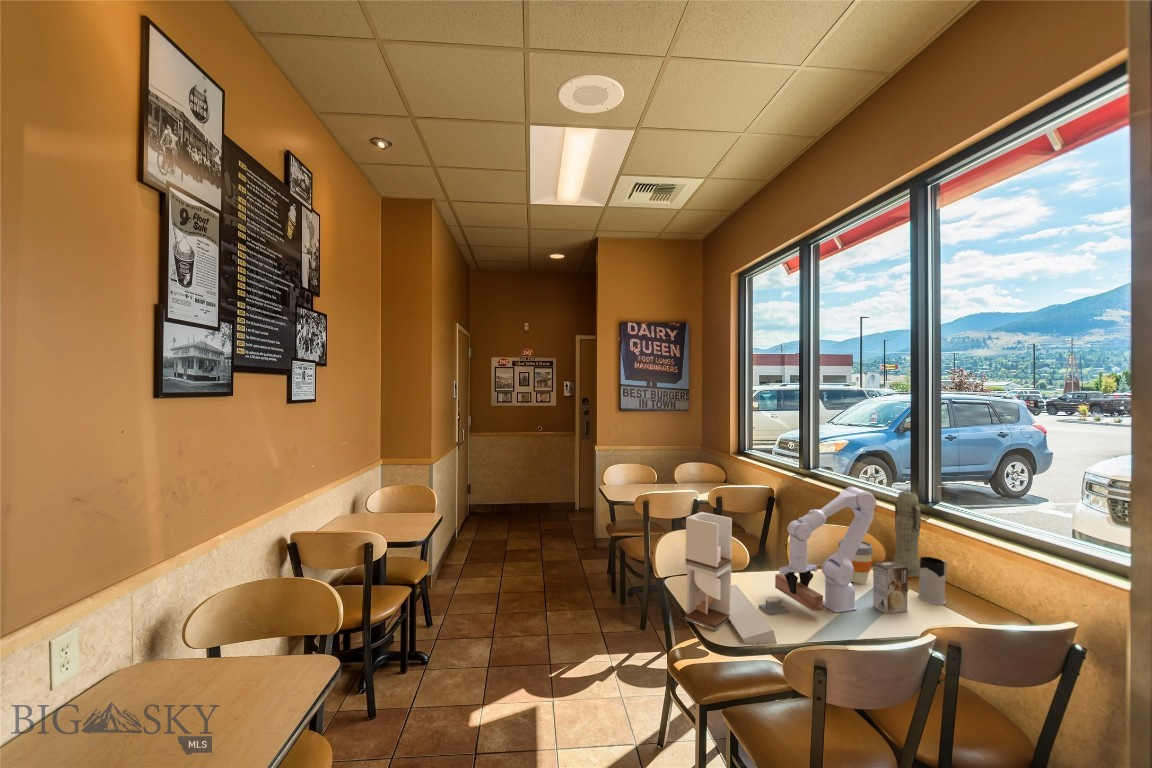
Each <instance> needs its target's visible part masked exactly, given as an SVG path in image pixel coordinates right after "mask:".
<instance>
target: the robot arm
mask: <svg viewBox="0 0 1152 768" xmlns="http://www.w3.org/2000/svg"><path fill="white" fill-rule="evenodd" d="M877 504H878V503H877V500H876V498H875V496H874V494H873V493H872V492H870V491H866V490H864V489H861V488H858V487H855V486H849V487H846V488H845V489H844V490H841V491H840V492H839V494H838V496H836V497H835V498H833V499H832V500H831V501H829V502H828V503H827V504H826V505H824V506H823V507H822V508H820V509H816V508H814V509H810V510H808V513H806V514H805V515H803V516H802V517H798V520H796V519H795V520H792V521H790V522H789V524H788V525H787V527H786V530H787V533H788V534H789V563H788V565H785V566H782V567H779V573H778V574H782V575H784V576H785V578H786V580H787V582H788V585H789V589H790V592H791V593H792V594H795V593H796V583H797V581H798V580H799V582H800V583H802V584H804V585H805V586H807V587H809V584H810V583H811V580H812V579H813V578H814V574H813V573H812V572H815V573H816V572H817V571H818V565H815V564H813V563H812V564H808V539H810V537H811V536H812V533H813V532H814V531H815V530H818V528H820V527H821V526H824V524H826V523H827V518H829V517H831V516H833V515H834V514H836V513H837V512H840V511H841V510H843V509H846V508H850V509H851V510H852V512H853V513H854V514H853V515H854V517H853V519H852V521H851V522H850V524H849V527H848V529H847V531H846V532H845V534H844V537H843V540H842V542H841V544H840V546H839V548H837V551H836V552H835V553H833V554H830V555H829V557H828V558H827V559H826V560H825V561H824V562H823V563H822V565H821V572H822V574H824V583H825V585H824V600H823V607H825V608H827V609H828V610H830V611H832V612H834V613H840V612H842V613H843V612H849V611H856V610H857V609H858V608H857V607H855V606H856V604H855V603H856V590H855V587H854V586H853V583H851V580H852V573H853V571H854V568H853V565H852V560H853V558H854V556H855V554H856V552H857V550H858V548H859V546H860V544H861V542H862V541H864V538H865V536H866V534H867V532H868V530H869V529H870V526H871V524H872V522H873V520H874V518H875V517H874V515H875V508H876V505H877ZM797 573H798V576H799V577H798V576H797V575H796V574H797Z"/></svg>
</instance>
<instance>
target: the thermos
mask: <svg viewBox="0 0 1152 768" xmlns="http://www.w3.org/2000/svg"><path fill="white" fill-rule="evenodd" d="M921 513H922V511H921V508H920V506H919V498H918V496H917V493H915V492H913V491H900V492H899V493H898V495H897V498H896V501H895V504H894V532H895V554H894V556H893V557H894V558H893V559H894V561H893V562H896V563H898V564H901V565H903V566H906V567H908V576H912V577H915V576H918V575H919V571H920V559H919V536H920V533H921V532H920V531H921V520H922V519H921V517H922V516H921ZM918 577H919V576H918Z"/></svg>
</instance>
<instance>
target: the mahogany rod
mask: <svg viewBox="0 0 1152 768" xmlns="http://www.w3.org/2000/svg"><path fill="white" fill-rule="evenodd" d="M774 579H775V580H774V588H775V589H777V590H779V591H780V592H782V593H783V594H785V595H786V596H788V597H789V598H791V599H792V600H794V601H795V602H796V603H797V602H798V603H799V604H800V605H802V606H804V607H805V608H806V609H808V610H811V611H812V612H819V611H823V610H824V605H823V601H824V595H822V594H821V593H819V592H818V591H815V590H814V589H812V588H810V587H809V586H808V587H807V586H805V585H804V584H802V583H800V581H798V580H797V583H796V593H795V594H792V593H791V592H790V589H789V585H788V582H787V580H786V578H785V576H784V575H782V574H780V573H776V574H775V576H774Z"/></svg>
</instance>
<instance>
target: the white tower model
mask: <svg viewBox="0 0 1152 768" xmlns="http://www.w3.org/2000/svg"><path fill="white" fill-rule="evenodd" d="M685 521H686V522H685V569H686V570H687V571H686V573H687V574H686V613H684V620H685V619H686V620H685V621H686V622H689V623H692V622H696V623H699V624H702V625H704V626H705V627H708V628H711V629H713V630H715V631H716V632H718V631H719V630H720V629H721V628H723V627H724V626H725V625H726V624H727V622H728V623H729V622H730V620H729V618H728V617H729V616H730V612H731V586H732V539H733V538H732V537H733V536H732V534H733V533H732V531H733V530H732V529H733V527H732V525H733V518H732V517H728V516H723V515H718V514H714V513H709V512H704V511H700V512H697V513H695V514H692V515H689V516H687V517H686V519H685ZM724 624H725V625H724ZM723 625H724V626H723ZM722 626H723V627H722ZM705 627H704V628H705ZM720 627H721V628H720ZM719 628H720V629H719ZM718 629H719V630H718ZM715 631H714V632H715Z"/></svg>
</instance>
